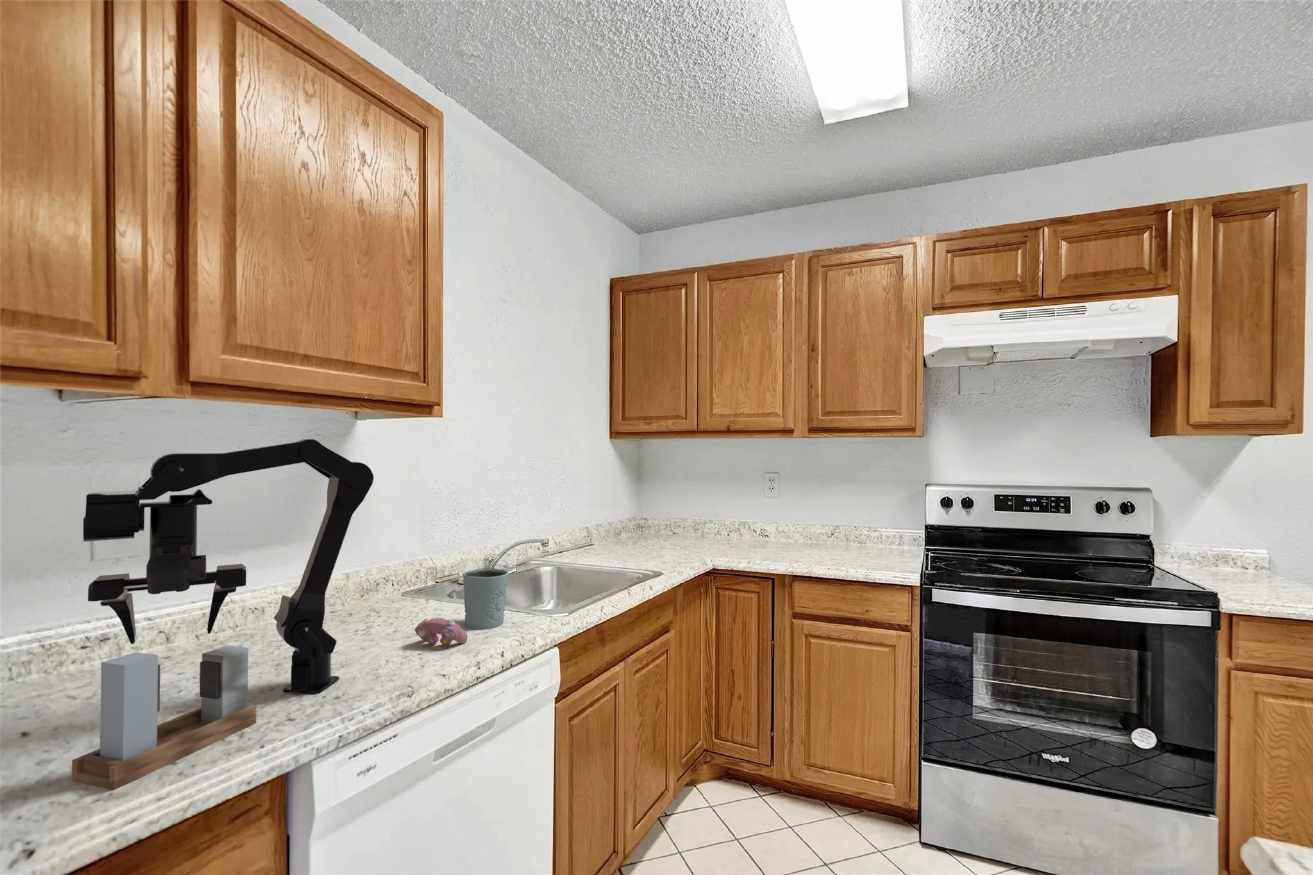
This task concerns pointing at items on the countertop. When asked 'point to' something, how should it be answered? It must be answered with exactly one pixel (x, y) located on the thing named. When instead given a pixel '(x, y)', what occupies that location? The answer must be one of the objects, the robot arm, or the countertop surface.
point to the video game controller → (440, 631)
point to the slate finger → (129, 705)
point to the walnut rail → (184, 723)
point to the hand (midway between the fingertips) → (172, 638)
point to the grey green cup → (484, 598)
